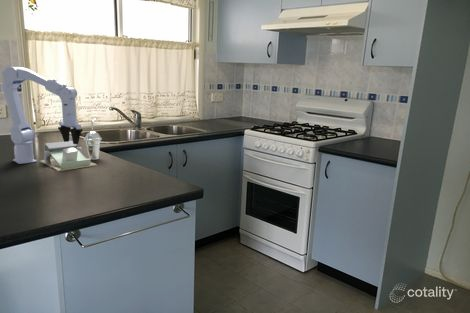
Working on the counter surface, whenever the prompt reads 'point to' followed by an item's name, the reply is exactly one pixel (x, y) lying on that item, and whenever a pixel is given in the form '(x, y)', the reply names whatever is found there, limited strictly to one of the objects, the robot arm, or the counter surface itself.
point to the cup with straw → (93, 143)
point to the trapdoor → (57, 154)
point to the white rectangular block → (69, 154)
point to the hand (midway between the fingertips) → (71, 142)
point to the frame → (54, 164)
